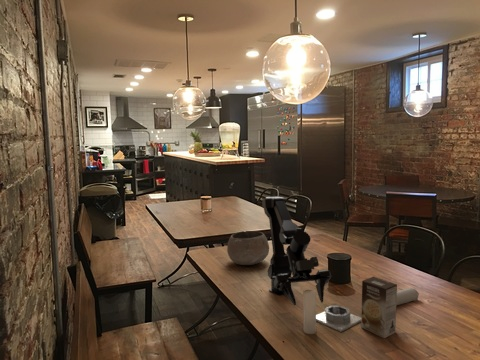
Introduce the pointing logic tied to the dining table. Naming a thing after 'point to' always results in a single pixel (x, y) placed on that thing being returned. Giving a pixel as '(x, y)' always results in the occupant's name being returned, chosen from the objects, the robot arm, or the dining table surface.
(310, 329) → the beige cylinder
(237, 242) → the clay pot
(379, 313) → the coffee box
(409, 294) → the tube
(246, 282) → the dining table surface
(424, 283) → the dining table surface
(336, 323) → the square plate with nut
